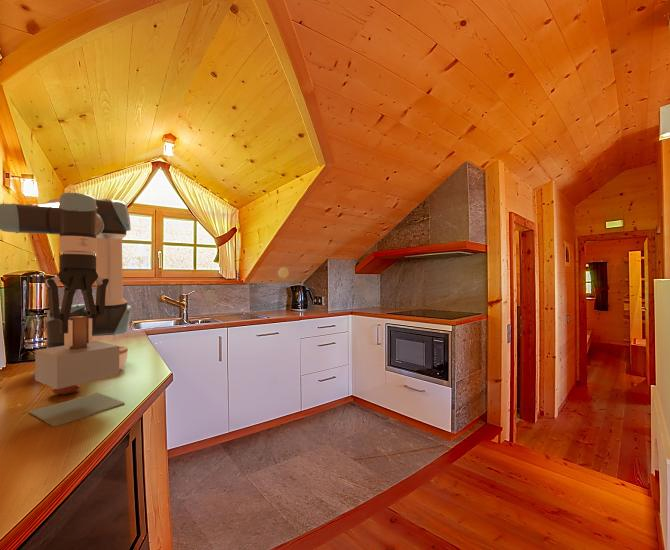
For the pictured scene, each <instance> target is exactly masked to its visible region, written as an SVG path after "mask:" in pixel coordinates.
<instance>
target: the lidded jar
mask: <svg viewBox="0 0 670 550" xmlns="http://www.w3.org/2000/svg"><path fill="white" fill-rule="evenodd" d="M128 348H129V347H127V346H119V371H121V369H122V368H123V367H124V366H125V364H126V362H127V361H128V351H129V349H128Z"/></svg>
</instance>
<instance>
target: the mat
mask: <svg viewBox="0 0 670 550" xmlns="http://www.w3.org/2000/svg"><path fill="white" fill-rule="evenodd" d="M125 403H126V402H124V401H121V400H119V399H116V398H113V397H110V396H108V395H105V394H102V393H101V392H95V393H92V394H88V395H84V396H80V397H77V398H74V399H70V400H66V401H63V402H59V403H58V402H57V403H55V404H51V405H47V406H44V407H40V408H37V409H33V410H30V411H29V410H28V413H29V414H30V415H32V416H33V417H35V416H36V418H37V419H39V420H40V421H42V420H43V421H42V422H44V421H45V422H44V423H46V424H48V425H49V424H50V426H52V427H53V428H55V427H58V426H61V425H65V424H68V423H72V422H74V421H77V420H80V419H84V418H86V417H90V416H93V415H95V414H98V413H102V412H105V411H109V410H112V409H115V408H118V407H121V406H123V404H124V405H125ZM120 405H121V406H120ZM117 406H118V407H117ZM114 407H115V408H114Z"/></svg>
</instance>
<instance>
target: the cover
mask: <svg viewBox="0 0 670 550" xmlns="http://www.w3.org/2000/svg"><path fill="white" fill-rule="evenodd" d="M69 320H73V346H70V347H68V346H59V347H52V348H47V347H46V348H39V349H35V350H34V352H35V354H34V355H35V357H34V358H35V359H34V362H35V363H34V364H35V365H34V366H35V368H34V372H35V373H34V376H35V377H34V379H35V381H36V382H39V383H41V384H43V385H46V386H49V387H51V388H52V387H53V388H55V389H61V388H65V387H69V386H73V385H77V384H79V385H81V384H86V383H89V382H95V381H98V380H102V379H105V378H111V377H113V376H118V375H120V370H119V347H120V345H117V344H113V343H107V342H102V341H97V340H94V341H93V340H92V343H87V316H76V317H70V318H69Z"/></svg>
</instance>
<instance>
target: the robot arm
mask: <svg viewBox="0 0 670 550" xmlns="http://www.w3.org/2000/svg"><path fill="white" fill-rule="evenodd" d="M129 213H130V212H129V209H128V206H127V204H126V203H125V201H122V200H115V199H106V198H95V197H94V196H92V195H90V194H85V193H79V192H64V193H61V194H60V196H59V198H54V199H49V200H48V201H46V202H42V203H31V204H29V203H28V204H20V203H19V204H18V203H0V231H2V232H6V233H7V232H8V233H15V234H19V233H20V234H42V235H43V234H45V235H46V234H47V235H59V246H58V247H59V248H58V250H59V251H58V252H60V253H61V254H60V255H59V257H58V258H59V262H58V263H59V271H58V273H57V275H56V276H54V277H52V278H45V279H44V280H43V283H44V285H45V286H46V288H47V296H48V297H47V299H48V309H49V310H48V311H47V312H46V315H47V316H46V321H45V323H46V348H52V347H59V346H68V347H70V346H73V320H69V318H70V317H76V316H87V343H92V341H93V337H103V336H116V335H123V334H126V333H127V332H128V330H129V327H130V323H131V322H130V321H131V316H132V305H129V304H128V300H127V299H125V298H124V297H123V296H124V291H123V289H124V285H123V239H124V238H125V237H126V236H127V232H129V231H131V220H130V219H131V218H130V214H129ZM94 254H95V255H94ZM59 282H60V283H61V284H62V285H63V286H64V290H63V298H62V301H61V306H60V296H59V287H58V286H59ZM95 283H96V294H95V300H94V295H93V285H94V284H95ZM77 290H81V291H80V292H81V294H82V296H83V301H84V303H79V304H73V301H74V297H75V294H76V292H77Z"/></svg>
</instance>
